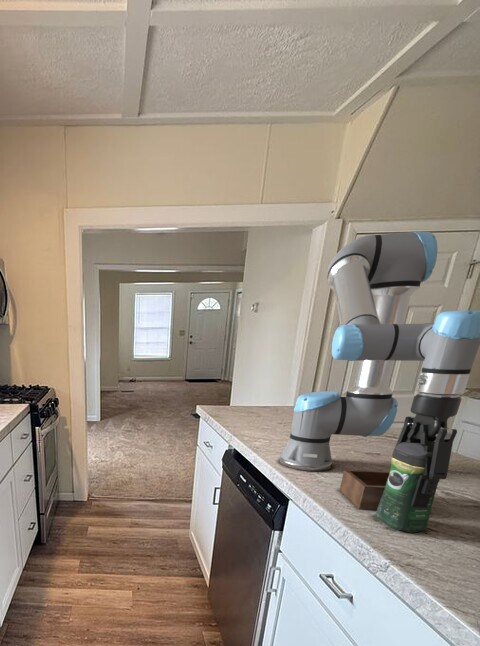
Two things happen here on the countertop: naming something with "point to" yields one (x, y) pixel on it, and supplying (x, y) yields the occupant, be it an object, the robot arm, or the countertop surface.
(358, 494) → the holder
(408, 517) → the coffee jar
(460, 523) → the countertop surface
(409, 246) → the robot arm
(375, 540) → the countertop surface
